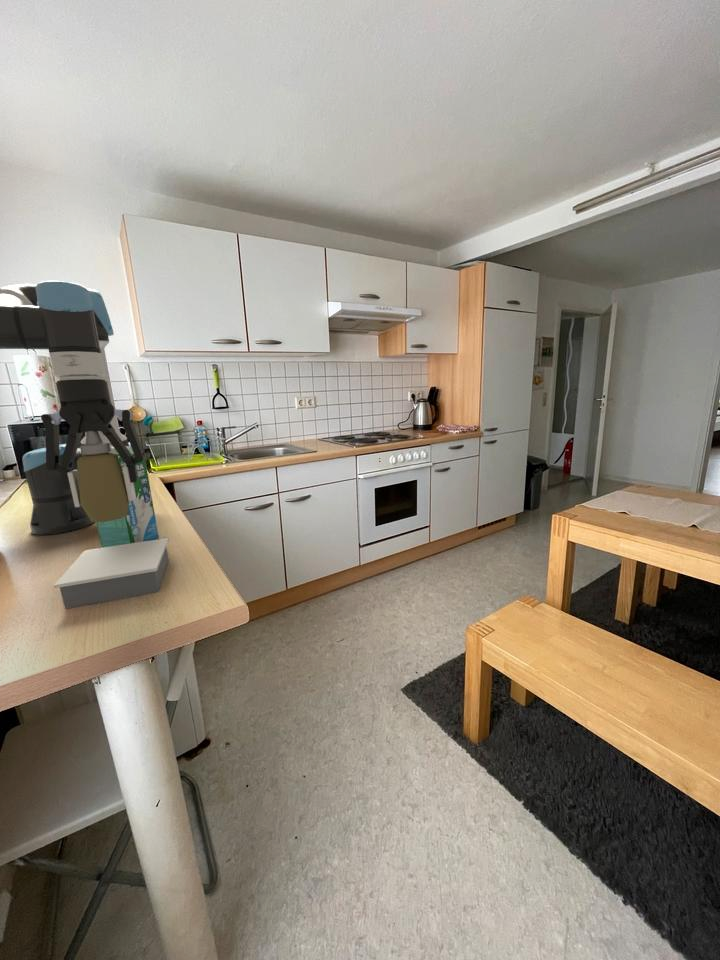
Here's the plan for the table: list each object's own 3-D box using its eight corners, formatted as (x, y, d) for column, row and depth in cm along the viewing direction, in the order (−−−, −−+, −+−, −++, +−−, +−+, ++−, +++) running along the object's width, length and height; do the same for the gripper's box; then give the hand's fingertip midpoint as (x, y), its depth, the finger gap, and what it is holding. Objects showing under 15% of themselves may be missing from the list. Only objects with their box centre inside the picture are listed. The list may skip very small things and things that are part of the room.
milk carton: (133, 551, 93) (113, 448, 87) (101, 549, 95) (79, 448, 89) (159, 536, 102) (142, 442, 96) (129, 535, 104) (111, 442, 98)
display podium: (89, 571, 83) (84, 550, 82) (171, 558, 88) (167, 538, 87) (60, 610, 68) (54, 585, 67) (160, 592, 73) (156, 568, 72)
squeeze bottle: (115, 510, 80) (97, 422, 76) (143, 513, 77) (126, 421, 73) (74, 523, 73) (52, 426, 68) (103, 527, 70) (82, 426, 65)
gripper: (-3, 380, 62) (31, 515, 67) (143, 376, 68) (163, 499, 74) (20, 381, 69) (49, 504, 74) (150, 377, 75) (169, 490, 81)
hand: (106, 501), depth 74 cm, fingers closed on squeeze bottle, 8 cm apart
